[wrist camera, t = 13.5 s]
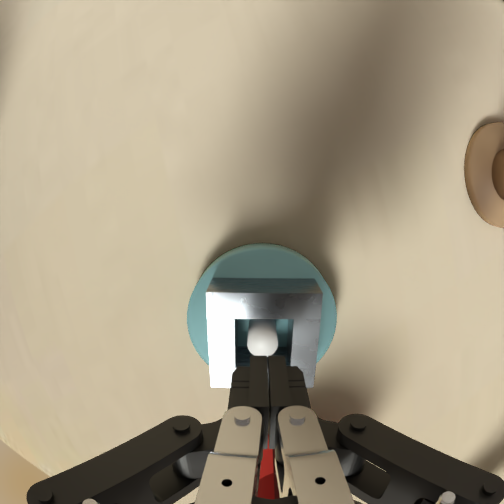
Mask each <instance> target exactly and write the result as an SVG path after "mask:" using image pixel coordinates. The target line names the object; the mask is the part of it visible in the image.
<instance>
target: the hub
mask: <svg viewBox="0 0 504 504" xmlns="http://www.w3.org/2000/svg"><path fill="white" fill-rule="evenodd" d="M212 277H214V278H315V280H316V282H317V284H318V285H319V287H320V289H321V291H322V292H323V299H322V311H321V322H320V332H319V342H318V351H317V360H316V363H317V362H318V361H319V360H320V359H321V358H322V356H323V355H324V354H325V352H326V351H327V349H328V348H329V346H330V343H331V341H332V339H333V336H334V333H335V328H336V320H337V313H336V305H335V301H334V297H333V295H332V292H331V290H330V288H329V286H328V285H327V283H326V281H325V280H324V278H323V277H322V275H321V274H320V272H319V271H318V270H317V268H316V267H315V266H314V265H313V264H312V263H311V262H310V261H309V260H308V259H307V258H305V257H304V256H303V255H301V254H300V253H298V252H296V251H294V250H292V249H290V248H287V247H284V246H281V245H276V244H268V243H256V244H248V245H243V246H240V247H237V248H234V249H232V250H230V251H228V252H226V253H224V254H223V255H221V256H220V257H218V258H217V259H216V260H215V261H214V262H213V263H211V264H210V266H209V267H208V268H207V269H206V270H205V272H204V273H203V275H202V276H201V278H200V280H199V281H198V283H197V285H196V287H195V288H194V291H193V293H192V295H191V298H190V301H189V305H188V311H187V325H188V331H189V335H190V338H191V341H192V343H193V345H194V347H195V349H196V351H197V352H198V354H199V355H200V356H201V358H202V359H203V360H204V361H205V362H206V363H207V364H208V365H209V349H208V331H207V310H206V291H207V288H208V286H209V284H210V282H211V280H212ZM237 326H238V346H247V347H248V350H249V351H250V352H251V353H252V354H253V355H254V356H267V357H268V355H272V354H273V353H274V352H275V351H276V350H277V347H287V335H288V319H237ZM209 366H210V365H209Z"/></svg>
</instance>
